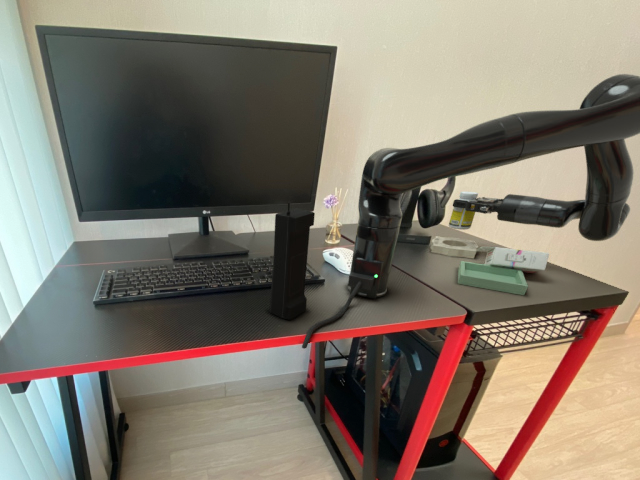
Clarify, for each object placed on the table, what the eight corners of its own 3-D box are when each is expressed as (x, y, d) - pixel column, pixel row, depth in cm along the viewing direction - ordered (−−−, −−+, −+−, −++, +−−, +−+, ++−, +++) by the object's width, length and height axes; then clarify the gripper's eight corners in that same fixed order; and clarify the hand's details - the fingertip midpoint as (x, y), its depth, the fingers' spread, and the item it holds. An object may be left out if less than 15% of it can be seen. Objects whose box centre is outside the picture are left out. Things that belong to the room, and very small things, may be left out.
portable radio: (288, 300, 79) (294, 194, 67) (309, 308, 75) (319, 198, 63) (267, 312, 74) (270, 200, 62) (288, 321, 70) (295, 204, 58)
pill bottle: (470, 226, 106) (481, 191, 101) (470, 231, 102) (481, 194, 97) (448, 224, 109) (458, 190, 104) (447, 228, 105) (457, 193, 100)
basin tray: (524, 295, 79) (528, 286, 78) (457, 283, 86) (460, 275, 85) (518, 278, 88) (521, 269, 87) (458, 268, 95) (461, 260, 94)
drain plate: (476, 259, 101) (478, 252, 100) (428, 252, 107) (430, 245, 106) (475, 247, 111) (477, 240, 110) (431, 242, 117) (433, 235, 116)
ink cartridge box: (532, 274, 91) (471, 265, 98) (537, 257, 91) (475, 249, 97) (545, 271, 84) (477, 262, 90) (550, 252, 83) (482, 244, 89)
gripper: (534, 193, 94) (470, 187, 106) (519, 199, 86) (452, 191, 98) (524, 218, 98) (463, 210, 109) (509, 226, 90) (445, 216, 101)
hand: (458, 201), depth 104 cm, fingers closed on pill bottle, 6 cm apart
